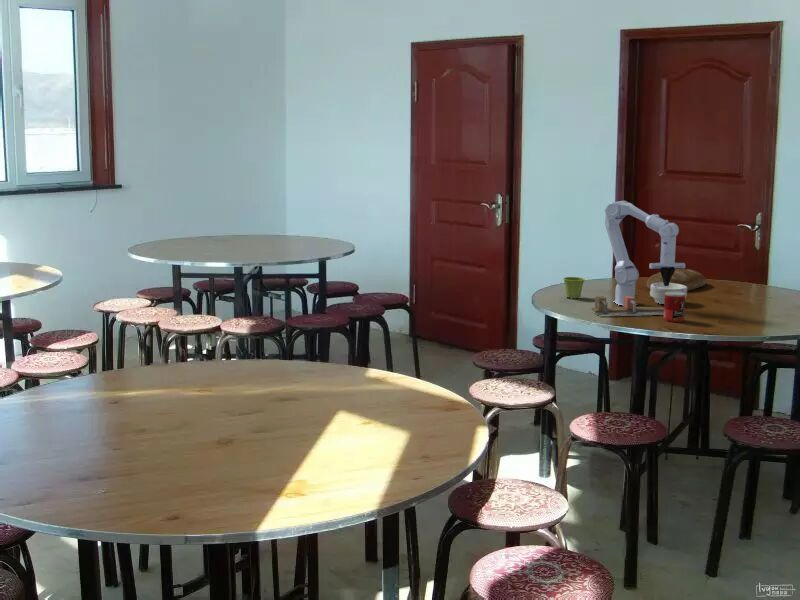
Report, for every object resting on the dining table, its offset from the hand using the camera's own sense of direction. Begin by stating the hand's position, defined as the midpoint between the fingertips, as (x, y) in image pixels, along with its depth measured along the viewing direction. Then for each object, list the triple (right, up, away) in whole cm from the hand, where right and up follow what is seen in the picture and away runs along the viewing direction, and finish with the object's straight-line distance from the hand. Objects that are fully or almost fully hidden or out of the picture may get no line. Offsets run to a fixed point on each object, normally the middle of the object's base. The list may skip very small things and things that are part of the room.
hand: (666, 285), depth 409 cm
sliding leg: (-16, -10, -4) cm, 19 cm away
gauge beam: (-15, -11, -4) cm, 20 cm away
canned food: (-2, -14, -18) cm, 23 cm away
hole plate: (-15, -12, -7) cm, 21 cm away
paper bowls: (+5, -8, +17) cm, 20 cm away
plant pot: (-33, -5, +29) cm, 44 cm away
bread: (+20, 0, +58) cm, 61 cm away
